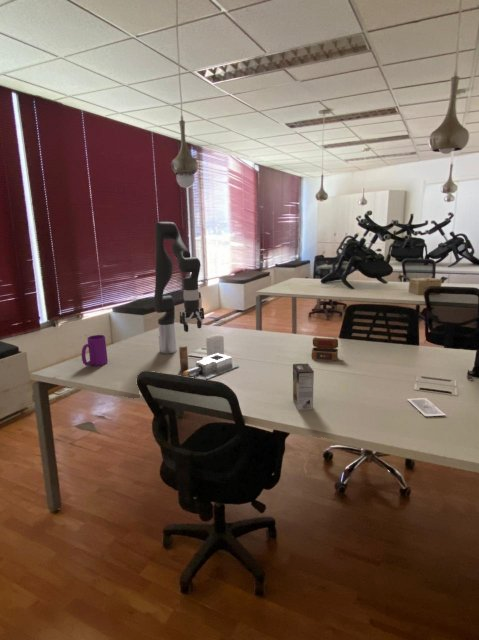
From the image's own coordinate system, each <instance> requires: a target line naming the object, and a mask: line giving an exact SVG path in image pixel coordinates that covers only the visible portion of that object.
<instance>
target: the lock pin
mask: <svg viewBox="0 0 479 640" xmlns="http://www.w3.org/2000/svg"><path fill="white" fill-rule="evenodd" d="M199 371H202V366H198V367H195V368H192V369H189V370H186V371H184V372H183V374H182V375H183V376H184V377H185V376H186V377H189V376H188V375H191V374H194V373H196V372H199Z"/></svg>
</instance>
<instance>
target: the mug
mask: <svg viewBox="0 0 479 640" xmlns="http://www.w3.org/2000/svg"><path fill="white" fill-rule="evenodd" d="M87 348H88V354H89V361H87V357H86V350H87ZM81 361H82V364H83V365H85V366H89V367H90V366H93V367H94V366H95V367H98V366H99V367H100V366H104V365H107V363H108V361H109V360H108V351H107V344H106V336H105V335H103V334H97V335H96V334H95V335H90V336H89V337H87V343H85V344H84V345H83V346H82V348H81Z"/></svg>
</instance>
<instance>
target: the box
mask: <svg viewBox="0 0 479 640" xmlns="http://www.w3.org/2000/svg"><path fill="white" fill-rule="evenodd" d="M312 346H313V347H312V349H311V360H314V361H325V362H326V361H327V362H337V361H338V360H339V359H338V356H339V355H338V354H339V349H338V348H339V339H337V338H336V337H335V338H327V337H318V336H317V337H316V336H315V337H313V338H312Z"/></svg>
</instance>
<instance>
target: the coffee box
mask: <svg viewBox="0 0 479 640" xmlns="http://www.w3.org/2000/svg"><path fill="white" fill-rule="evenodd" d="M314 372H315V371H314V370H313V368H312V367H311V366H310V364H309V363H293V364H292V401H293V403H294V405H295V408H296V410H297V411H305V410H306V411H307V410H313V409H314V383H315V382H314V378H315V377H314Z"/></svg>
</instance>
